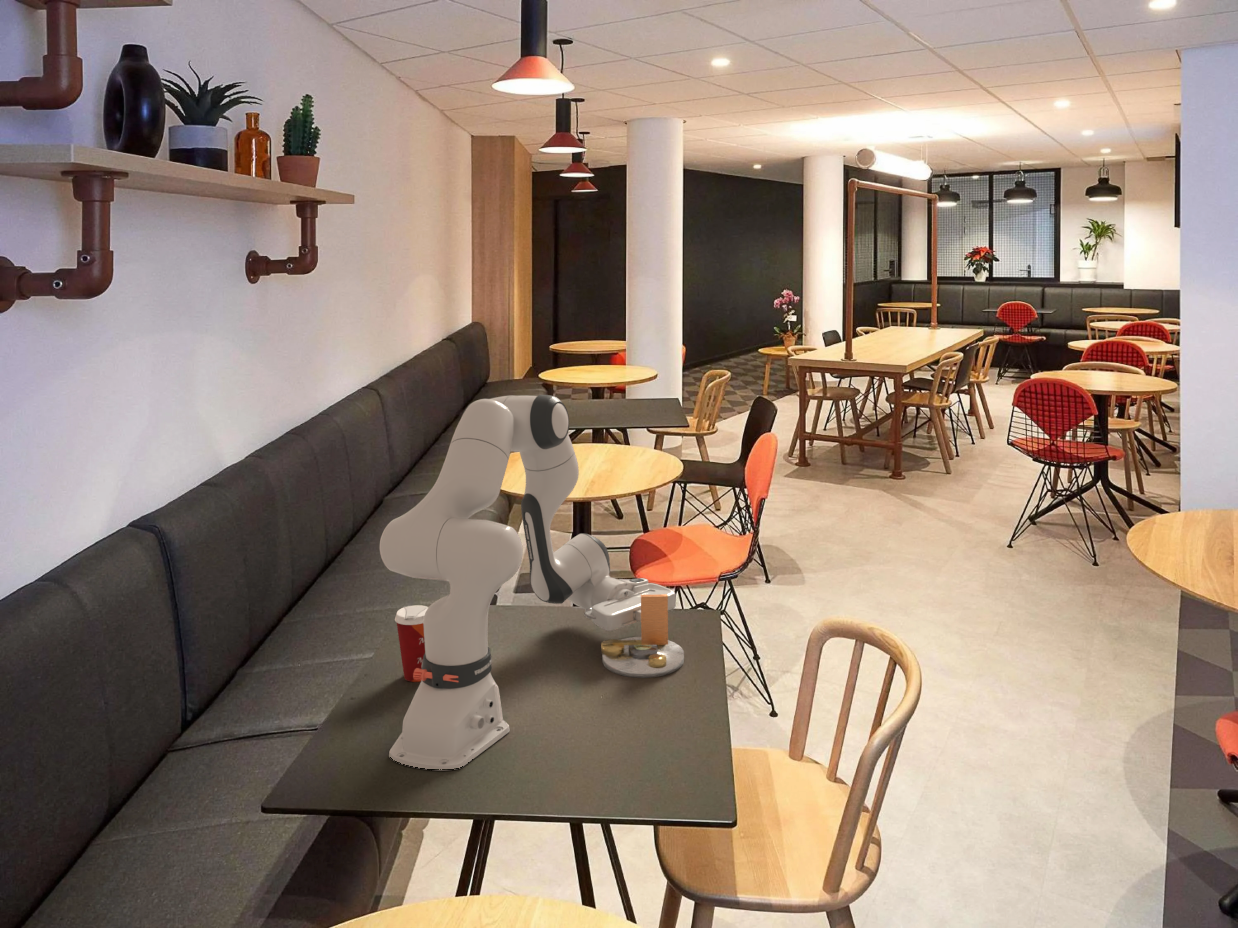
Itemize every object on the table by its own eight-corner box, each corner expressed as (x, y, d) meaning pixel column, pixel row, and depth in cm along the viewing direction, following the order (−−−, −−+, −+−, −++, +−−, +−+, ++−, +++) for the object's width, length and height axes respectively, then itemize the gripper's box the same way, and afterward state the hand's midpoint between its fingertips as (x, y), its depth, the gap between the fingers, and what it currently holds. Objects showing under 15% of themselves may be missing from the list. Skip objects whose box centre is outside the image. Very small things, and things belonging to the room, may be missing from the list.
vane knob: (601, 656, 197) (599, 600, 194) (601, 646, 202) (600, 592, 199) (668, 655, 197) (668, 599, 194) (667, 645, 202) (667, 591, 199)
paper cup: (433, 684, 190) (428, 618, 187) (394, 684, 190) (389, 618, 187) (441, 667, 198) (437, 603, 194) (404, 667, 198) (399, 603, 195)
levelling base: (671, 682, 189) (671, 667, 188) (590, 671, 194) (590, 657, 194) (692, 648, 205) (692, 634, 204) (617, 639, 210) (617, 625, 209)
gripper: (579, 598, 202) (623, 617, 192) (649, 575, 215) (693, 591, 205) (579, 626, 203) (623, 646, 194) (649, 602, 217) (693, 619, 207)
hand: (660, 618), depth 200 cm, fingers closed
